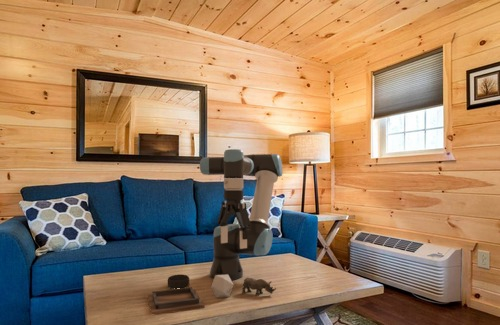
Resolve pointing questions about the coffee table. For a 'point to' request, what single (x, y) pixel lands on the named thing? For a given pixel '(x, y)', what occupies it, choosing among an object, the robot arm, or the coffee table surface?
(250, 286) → the rhino figurine
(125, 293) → the coffee table surface
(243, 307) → the coffee table surface
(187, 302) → the board
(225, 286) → the die
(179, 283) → the smart speaker
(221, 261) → the robot arm
